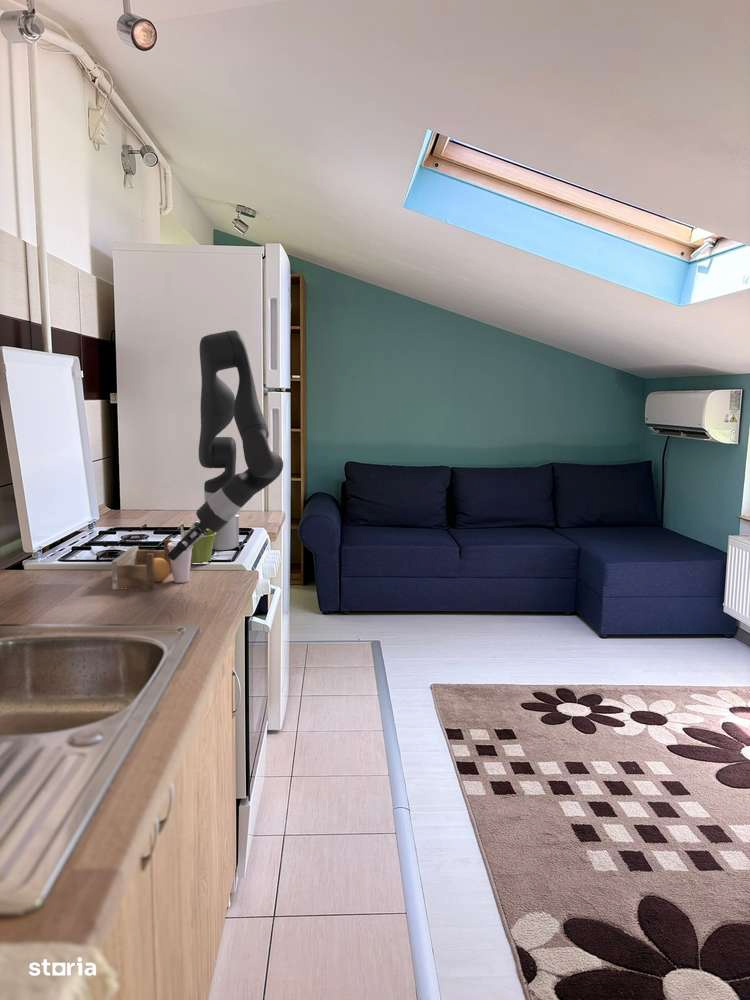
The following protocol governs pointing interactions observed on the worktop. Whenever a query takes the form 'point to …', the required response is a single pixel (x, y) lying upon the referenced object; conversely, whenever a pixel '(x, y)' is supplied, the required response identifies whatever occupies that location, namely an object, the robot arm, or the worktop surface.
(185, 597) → the worktop surface
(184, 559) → the smoothie
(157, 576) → the ball
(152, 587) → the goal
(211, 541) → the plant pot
